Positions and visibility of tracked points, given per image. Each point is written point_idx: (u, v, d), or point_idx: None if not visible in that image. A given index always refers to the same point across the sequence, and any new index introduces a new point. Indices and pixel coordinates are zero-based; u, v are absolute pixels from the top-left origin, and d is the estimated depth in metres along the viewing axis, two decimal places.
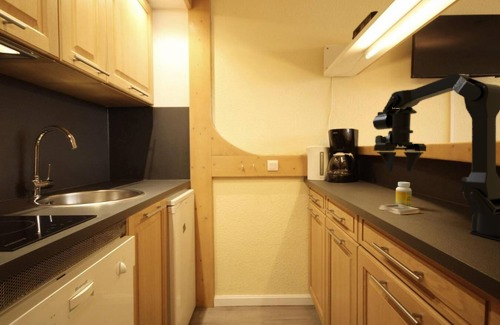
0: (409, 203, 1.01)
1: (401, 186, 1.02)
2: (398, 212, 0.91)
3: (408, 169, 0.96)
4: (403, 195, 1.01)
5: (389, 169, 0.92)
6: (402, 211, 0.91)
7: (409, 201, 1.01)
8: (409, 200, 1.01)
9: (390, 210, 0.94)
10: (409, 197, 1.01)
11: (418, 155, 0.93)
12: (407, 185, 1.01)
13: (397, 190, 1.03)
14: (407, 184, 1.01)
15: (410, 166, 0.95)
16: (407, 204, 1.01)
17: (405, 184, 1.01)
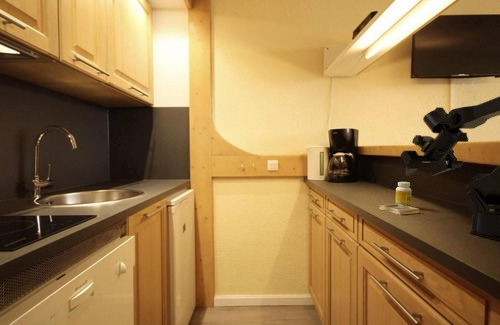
0: (409, 203, 1.01)
1: (401, 186, 1.02)
2: (398, 212, 0.91)
3: (431, 173, 0.95)
4: (403, 195, 1.01)
5: (406, 174, 0.94)
6: (402, 211, 0.91)
7: (409, 201, 1.01)
8: (409, 200, 1.01)
9: (390, 210, 0.94)
10: (409, 197, 1.01)
11: (447, 169, 0.89)
12: (407, 185, 1.01)
13: (397, 190, 1.03)
14: (408, 184, 1.01)
15: (434, 173, 0.93)
16: (407, 204, 1.01)
17: (405, 184, 1.01)
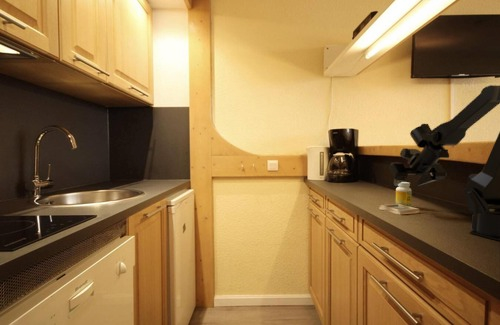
0: (409, 203, 1.01)
1: (401, 186, 1.02)
2: (398, 212, 0.91)
3: (417, 183, 1.02)
4: (403, 195, 1.01)
5: (394, 184, 1.01)
6: (402, 211, 0.91)
7: (409, 201, 1.01)
8: (409, 200, 1.01)
9: (390, 210, 0.94)
10: (409, 197, 1.01)
11: (431, 181, 0.96)
12: (407, 185, 1.01)
13: (397, 190, 1.03)
14: (408, 184, 1.01)
15: (420, 183, 1.00)
16: (407, 204, 1.01)
17: (405, 184, 1.01)
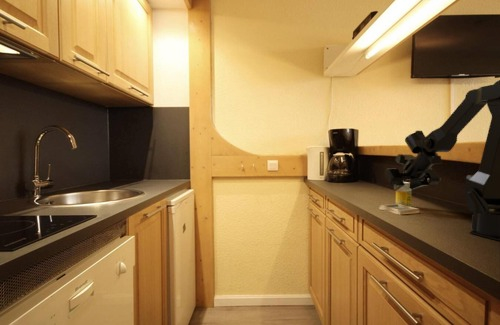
0: (409, 203, 1.01)
1: None
2: (398, 212, 0.91)
3: None
4: (403, 195, 1.01)
5: (394, 188, 1.04)
6: (402, 211, 0.91)
7: (409, 201, 1.01)
8: (409, 200, 1.01)
9: (390, 210, 0.94)
10: (409, 197, 1.01)
11: (421, 185, 0.99)
12: (407, 185, 1.01)
13: (397, 190, 1.03)
14: (407, 184, 1.01)
15: None
16: (407, 204, 1.01)
17: (405, 184, 1.01)
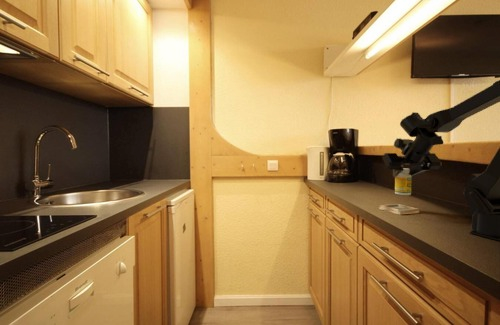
0: (409, 190, 0.96)
1: None
2: (398, 212, 0.91)
3: None
4: (403, 181, 0.96)
5: (393, 175, 0.99)
6: (402, 211, 0.91)
7: (409, 188, 0.96)
8: (409, 187, 0.96)
9: (390, 210, 0.94)
10: (408, 184, 0.96)
11: (421, 171, 0.94)
12: (407, 171, 0.97)
13: (396, 177, 0.98)
14: (407, 170, 0.97)
15: (410, 174, 0.98)
16: (407, 191, 0.96)
17: (404, 170, 0.97)
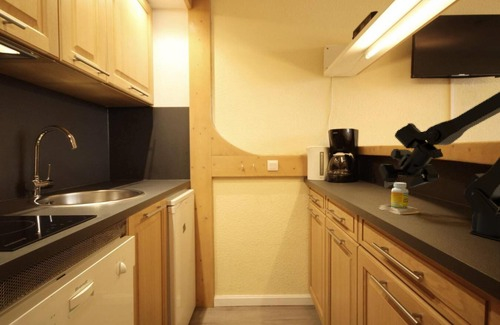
0: (405, 205, 0.93)
1: (397, 187, 0.94)
2: (398, 212, 0.91)
3: (409, 185, 0.97)
4: (399, 196, 0.93)
5: (385, 186, 0.96)
6: (402, 211, 0.91)
7: (405, 203, 0.93)
8: (406, 202, 0.93)
9: (390, 210, 0.94)
10: (405, 199, 0.93)
11: (423, 183, 0.91)
12: (403, 186, 0.94)
13: (393, 191, 0.95)
14: (404, 185, 0.94)
15: (411, 185, 0.96)
16: (403, 206, 0.93)
17: (401, 185, 0.94)
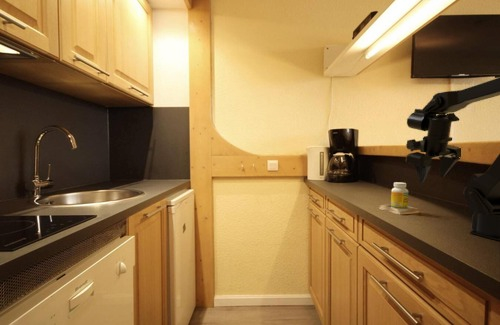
0: (405, 205, 0.93)
1: (397, 187, 0.95)
2: (398, 212, 0.91)
3: (441, 175, 0.89)
4: (399, 196, 0.93)
5: (421, 180, 0.86)
6: (402, 211, 0.91)
7: (405, 203, 0.93)
8: (406, 202, 0.93)
9: (390, 210, 0.94)
10: (405, 199, 0.93)
11: (454, 162, 0.85)
12: (403, 186, 0.94)
13: (393, 191, 0.95)
14: (404, 185, 0.94)
15: (443, 172, 0.88)
16: (403, 206, 0.93)
17: (401, 185, 0.94)
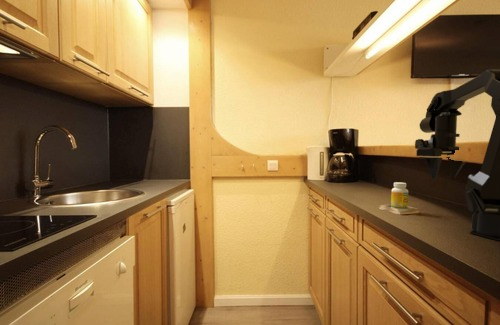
0: (405, 205, 0.93)
1: (397, 187, 0.95)
2: (398, 212, 0.91)
3: (452, 175, 0.89)
4: (399, 196, 0.93)
5: (433, 176, 0.85)
6: (402, 211, 0.91)
7: (405, 203, 0.93)
8: (406, 202, 0.93)
9: (390, 210, 0.94)
10: (405, 199, 0.93)
11: None
12: (403, 186, 0.94)
13: (393, 191, 0.95)
14: (404, 185, 0.94)
15: (454, 172, 0.88)
16: (403, 206, 0.93)
17: (401, 185, 0.94)
